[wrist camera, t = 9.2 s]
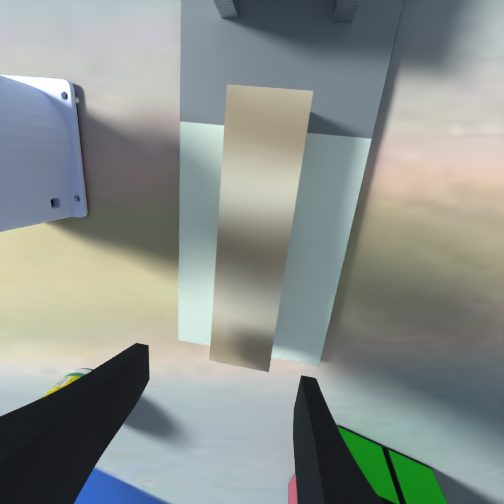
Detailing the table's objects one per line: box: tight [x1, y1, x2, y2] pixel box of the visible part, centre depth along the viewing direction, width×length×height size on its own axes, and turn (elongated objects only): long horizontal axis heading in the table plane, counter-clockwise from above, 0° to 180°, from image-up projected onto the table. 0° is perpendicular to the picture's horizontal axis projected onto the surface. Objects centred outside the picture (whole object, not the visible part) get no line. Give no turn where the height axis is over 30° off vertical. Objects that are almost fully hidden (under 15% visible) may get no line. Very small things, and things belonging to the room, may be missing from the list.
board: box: [178, 0, 404, 366], centre depth 16 cm, size 34×12×1 cm, turn 174°
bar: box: [209, 84, 313, 372], centre depth 16 cm, size 16×4×4 cm, turn 174°
